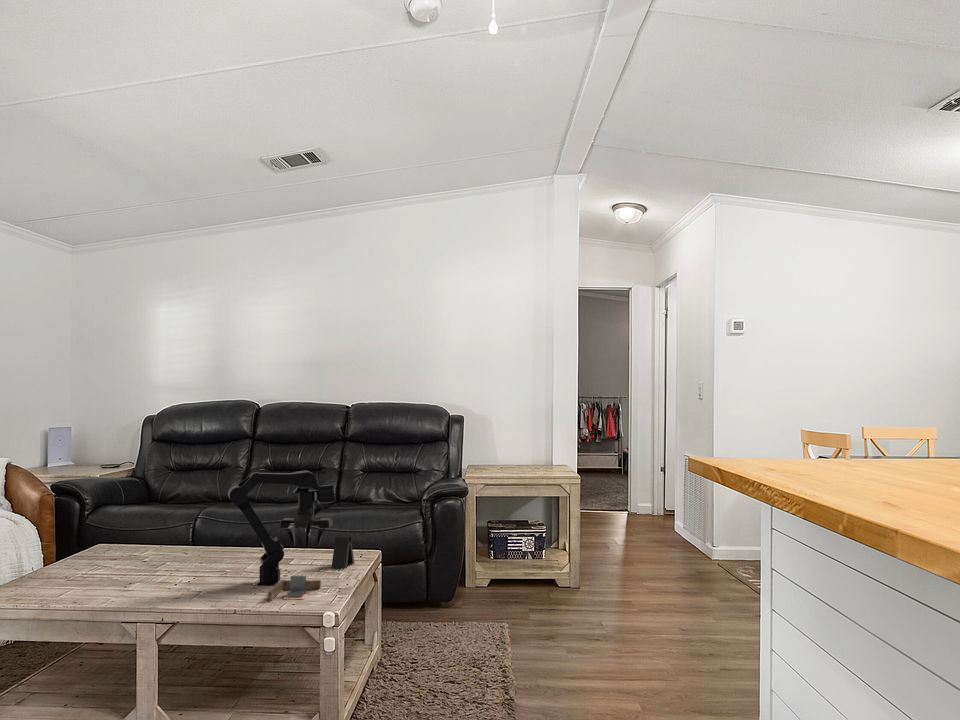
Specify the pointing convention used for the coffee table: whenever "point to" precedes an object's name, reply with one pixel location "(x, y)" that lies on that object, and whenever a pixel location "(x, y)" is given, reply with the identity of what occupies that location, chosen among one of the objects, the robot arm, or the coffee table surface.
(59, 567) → the coffee table surface
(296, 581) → the angle bracket
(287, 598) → the pad
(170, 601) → the coffee table surface
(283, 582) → the l-shaped wooden corner frame
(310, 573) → the coffee table surface
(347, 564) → the phone stand
